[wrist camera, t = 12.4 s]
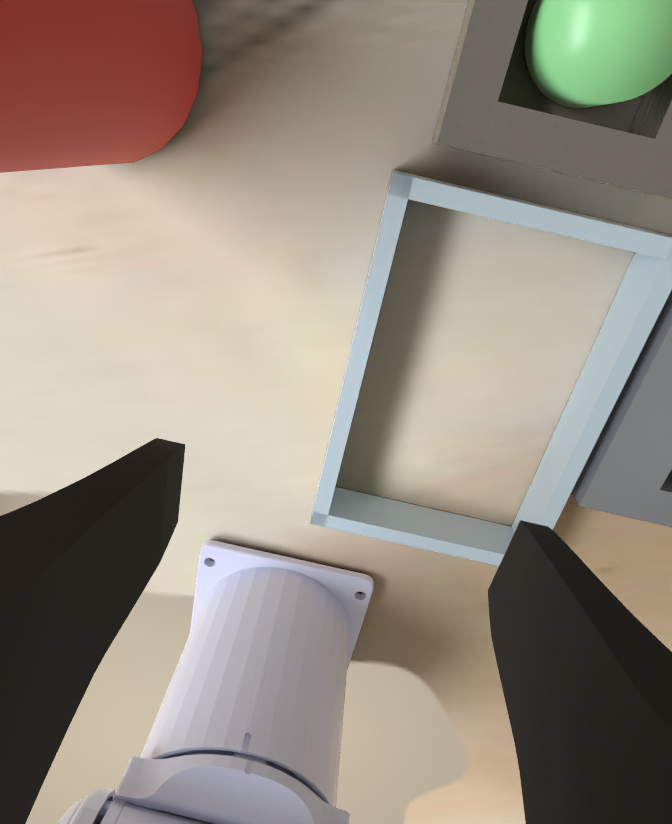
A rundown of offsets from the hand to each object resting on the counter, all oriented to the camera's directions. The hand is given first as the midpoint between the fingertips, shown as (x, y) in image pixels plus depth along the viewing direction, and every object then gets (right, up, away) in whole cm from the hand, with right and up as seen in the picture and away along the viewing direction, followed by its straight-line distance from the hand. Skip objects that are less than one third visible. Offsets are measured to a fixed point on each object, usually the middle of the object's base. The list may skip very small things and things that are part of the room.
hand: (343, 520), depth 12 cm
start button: (+7, +13, +4) cm, 15 cm away
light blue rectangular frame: (+5, +3, +9) cm, 11 cm away
